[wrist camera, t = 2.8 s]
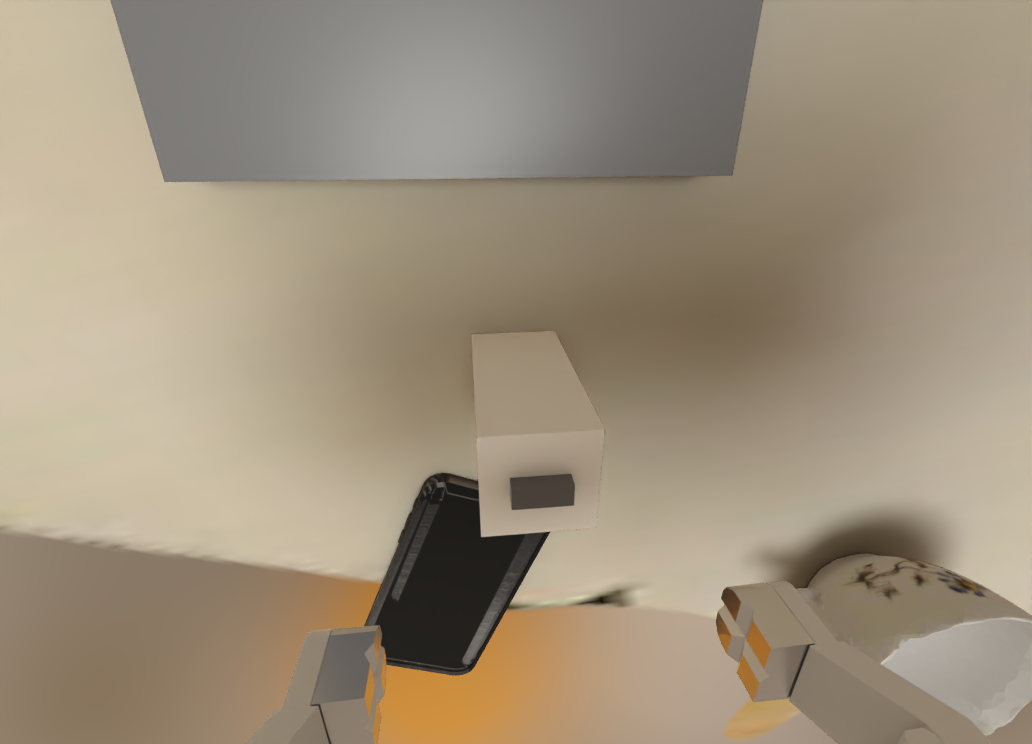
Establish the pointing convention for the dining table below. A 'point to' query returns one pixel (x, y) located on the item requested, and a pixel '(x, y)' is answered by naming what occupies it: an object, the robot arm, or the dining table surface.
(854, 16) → the dining table surface
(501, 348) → the charger plug
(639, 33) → the grey socket board
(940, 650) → the teacup
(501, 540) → the phone
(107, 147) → the dining table surface
